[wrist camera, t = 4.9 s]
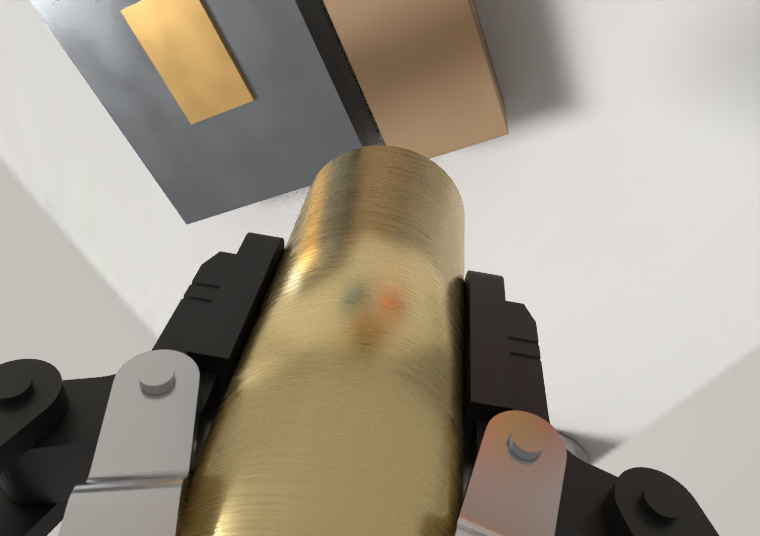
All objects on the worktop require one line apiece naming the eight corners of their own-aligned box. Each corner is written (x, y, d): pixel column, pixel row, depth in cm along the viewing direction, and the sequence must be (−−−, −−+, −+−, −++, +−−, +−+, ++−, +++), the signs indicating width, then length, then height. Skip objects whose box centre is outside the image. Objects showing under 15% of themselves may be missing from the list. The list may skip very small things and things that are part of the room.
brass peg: (484, 259, 15) (503, 726, 8) (346, 294, 17) (239, 725, 9) (432, 122, 13) (383, 570, 5) (278, 174, 15) (58, 598, 7)
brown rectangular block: (504, 105, 27) (508, 133, 25) (402, 138, 29) (396, 169, 26) (448, -85, 23) (446, -71, 20) (331, -33, 24) (316, -14, 22)
